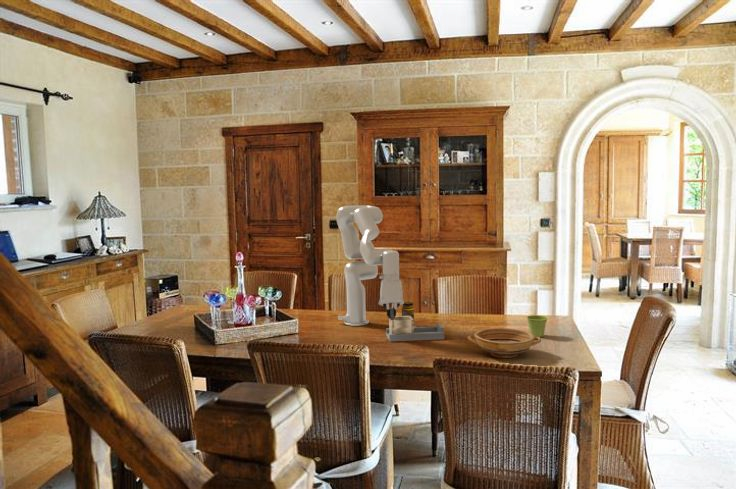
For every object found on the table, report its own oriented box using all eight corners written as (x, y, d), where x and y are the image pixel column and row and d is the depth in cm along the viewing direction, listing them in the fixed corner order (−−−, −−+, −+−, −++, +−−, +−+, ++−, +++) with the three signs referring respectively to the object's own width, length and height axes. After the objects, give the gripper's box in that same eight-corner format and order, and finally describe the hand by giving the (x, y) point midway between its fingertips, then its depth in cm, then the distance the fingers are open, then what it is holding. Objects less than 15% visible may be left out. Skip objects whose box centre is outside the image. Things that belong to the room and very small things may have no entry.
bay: (389, 341, 260) (389, 330, 259) (386, 334, 272) (385, 324, 271) (444, 339, 262) (444, 328, 262) (438, 332, 274) (438, 322, 274)
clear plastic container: (391, 338, 261) (391, 311, 260) (388, 333, 270) (388, 307, 269) (413, 337, 262) (413, 310, 261) (410, 332, 271) (410, 306, 270)
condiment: (417, 326, 286) (417, 303, 285) (404, 329, 281) (403, 305, 280) (408, 324, 292) (408, 300, 291) (395, 326, 287) (394, 302, 286)
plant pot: (546, 339, 259) (547, 320, 258) (525, 337, 263) (525, 319, 262) (548, 334, 268) (548, 315, 267) (527, 332, 271) (527, 314, 270)
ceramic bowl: (467, 361, 229) (467, 341, 228) (467, 344, 253) (467, 326, 252) (545, 363, 224) (545, 343, 223) (537, 346, 248) (537, 328, 247)
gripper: (374, 279, 259) (375, 320, 261) (409, 278, 260) (409, 318, 262) (373, 277, 266) (373, 316, 268) (406, 276, 268) (406, 315, 269)
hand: (391, 317), depth 265 cm, fingers closed
